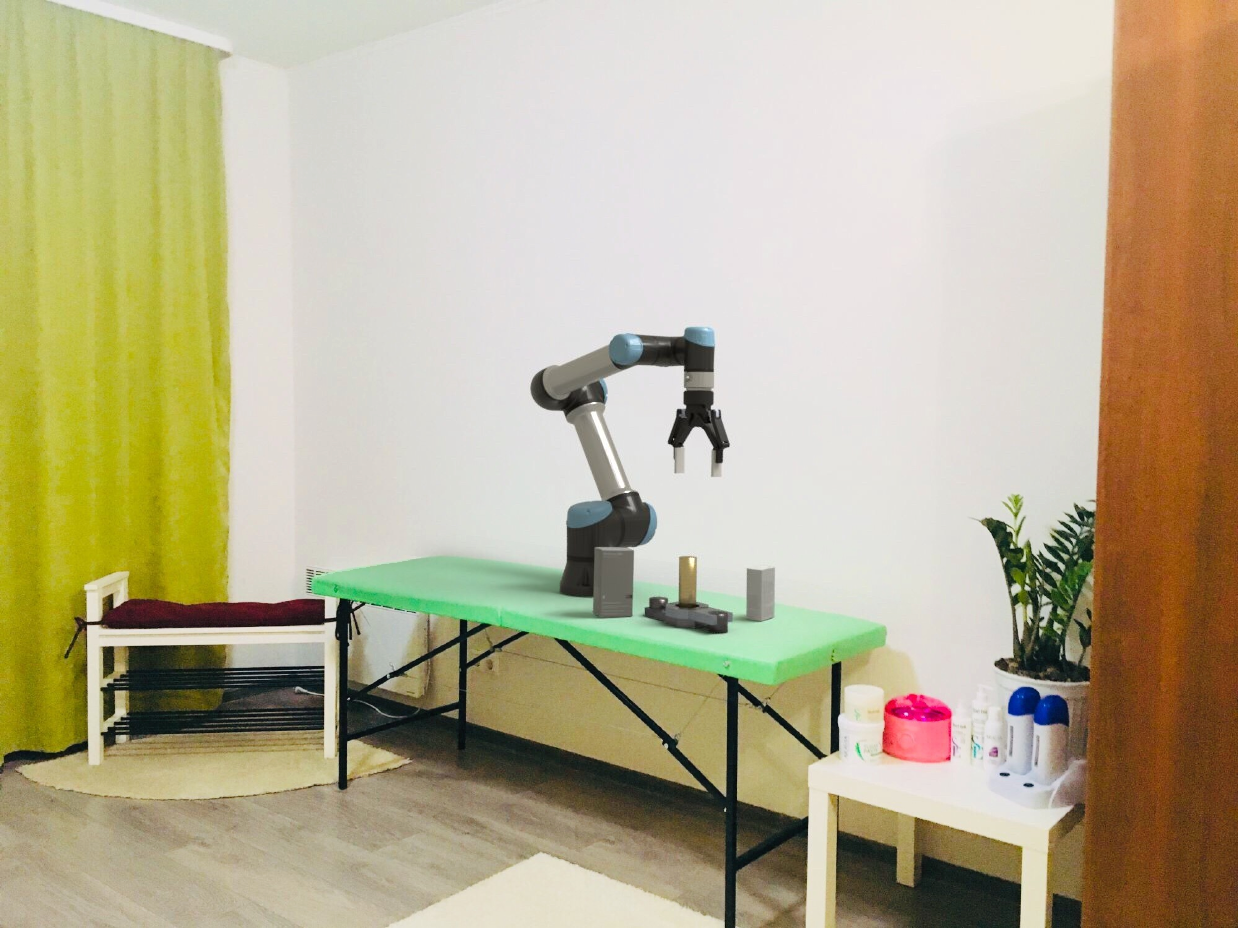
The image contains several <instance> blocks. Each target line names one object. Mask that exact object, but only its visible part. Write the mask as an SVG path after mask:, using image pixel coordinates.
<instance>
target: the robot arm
mask: <svg viewBox="0 0 1238 928" xmlns="http://www.w3.org/2000/svg"><path fill="white" fill-rule="evenodd" d="M683 333H684V334H683V336H682V335H681V336H680V335H679V336H667V335H666V336H663V335H649V334H646V335H645V334H636V333H635V334H634V333H628V332H627V333H618V334H616V335H614V336H613V338H612V339H611V340H610V341H609V344H607V345H604V346H603V347H600V348H598V349H595V350H593V351H591V352H589V353H587V354H585V355H582V356H580V357H577V358H575V359H572V360H570V361H567V362H565V363H563V364H561V365H557V364H552V365H549V366H547V367H545V368H543V369H541V370H539V371H538V372H536V373H535V374H534V376H533V377H532V380H531V381H530V382H531V383H530V386H529V387H530V388H529V389H530V395H531V398H532V400H534V403H535V404H536V405H537V406H539V407H540V408H542V409H544V410H546V411H554V412H556V411H557V412H563V415H564V417H565V419H566V422H567V423H568V424H571V425H573V426H574V429H575V432H576V434H577V437H578V439H579V442H580V445H581V448H582V450H583V453H584V455H585V458H586V461H587V464H588V466H589V469H590V471H591V475H592V478H593V480H594V482H595V485H596V488H597V491H598V493H599V496H600V499H601V500H591V501H590V500H588V501H581V502H578V503H574V504H572V505H571V506H570V507H569V508H568V510H567V515H566V522H565V525H566V563H565V566H564V569H563V573H562V575H561V576H562V577H561V580H560V582H559V593H561V594H563V595H567V596H574V597H584V598H585V597H589V598H591V597H593V594H594V560H595V550H594V548H595V547H623V548H636V547H640V546H645V545H647V544H648V543H650V542H651V540H653V539H654V538H653V537H654V536H655V534H656V530H657V527H658V515H657V512H656V510H655V508H654V507H653V505H651V504H650V503H647V502H645V501H642V498H641V496H640V493H639V491H637V490H635V489H633V488H632V487H631V485H630V483H629V480H628V478H627V475H626V472H625V468H624V467H623V464H622V461H621V458H620V457H619V453H618V451H617V448H616V446H615V443H614V441H613V438H612V435H611V432H610V429H609V428H608V427H609V426H608V425H607V422H606V420H605V416H604V412H605V410H606V404H607V401H608V396H607V395H608V387H607V384H606V381H605V379H606V378H608V377H610V376H613V375H616V374H618V373H621V372H623V371H626V370H628V369H630V368H633V367H636V366H650V367H651V366H654V367H658V368H659V367H660V368H668V367H681V366H682V367H683V388H684V389H685V390H684V391H683V394H682V395H683V396H682V397H683V398H682V399H683V401H682V403H683V405H684V406H685V408H677V409H676V412H675V414H676V415H675V419H674V422H673V425H672V427H671V430H670V434H669V437H668V440H667V445H669V446H671V447H673V457H672V458H673V461H674V466H673V467H674V469H673V470H674V474H685V458H686V457H685V454H686V453H685V452H686V451H685V445H684V444H685V442H686V440H687V439H688V437H689V435H690V434H691V432H692V431H693V429H695V428H701V429H702V430H703V431H704V433H705V434H706V436H707V439H708V440H709V442H710V444H711V446H712V449H711V456H710V457H711V461H710V462H711V464H710V465H711V466H710V467H711V468H710V470H711V471H710V477H711V478H716V477H717V478H718V477H719V478H721V477H722V464H723V462H724V450H725V449H727V448H730V446H731V444H730V441H729V438H728V434H727V431H726V428H725V425H724V422H723V419H722V411H721V409H720V408H719V409H713V408H712V406H713V405H714V402H715V401H714V399H715V398H714V397H715V396H714V395H715V393H714V390H712V389H714V388H715V349H716V343H715V330H714V329H713V328H712V327H709V326H688V327H685V328H684V331H683Z"/></svg>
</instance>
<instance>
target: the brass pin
mask: <svg viewBox="0 0 1238 928" xmlns="http://www.w3.org/2000/svg"><path fill="white" fill-rule="evenodd" d="M678 564H679V565H678V601H679V607H680V608H696V602H697V577H698V575H697V574H698V557H697V556H693V555H681V556H679V557H678Z"/></svg>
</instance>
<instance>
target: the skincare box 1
mask: <svg viewBox="0 0 1238 928" xmlns="http://www.w3.org/2000/svg"><path fill="white" fill-rule="evenodd" d="M594 550H595V560H594V594H593V599H592V601H593V602H592V604H593V605H592V612H593V613H594V615H595V614H596V615H597V616H598V617H599V618H601V619H605V618H607V619H608V618H620V617H632V616H633V606H634V605H633V603H634V572H635V571H634V568H635V550H634V549H632V548H630V547H627V548H623V547H595V548H594Z"/></svg>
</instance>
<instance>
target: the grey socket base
mask: <svg viewBox="0 0 1238 928" xmlns="http://www.w3.org/2000/svg"><path fill="white" fill-rule="evenodd" d="M648 600H649V602H648V606H645V607H644V617H648V618H651V619H655V620H658V621H661V622H665V625H667V626H670V627H674V628H686V629H690V628H691V629H696V628H702V627H703V628H704V627H707V632H708V633H711V634H719V635H720V634H726V633H728V631H729V630H728V629H729V623H733V615H734V614H733V612H731V611H728V610H724V609H719V608H715V607H712V606H710V605H709V604H708V603H703V602H699V601H696V608H680V607H679V600H678V601H673V602H669V598H668V597H665V596H651V597H649V598H648Z"/></svg>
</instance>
